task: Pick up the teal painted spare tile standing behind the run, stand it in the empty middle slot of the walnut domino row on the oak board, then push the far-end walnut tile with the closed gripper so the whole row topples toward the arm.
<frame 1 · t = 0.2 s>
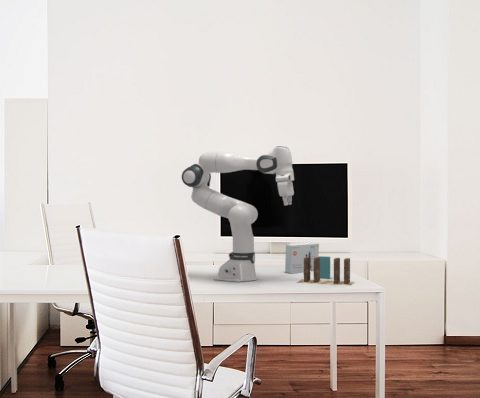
hand: (288, 205, 323), 39 cm above the table, tool pointing down, fingers open, 8 cm apart
tile 1: (347, 283, 312), point 1 cm above the table, touching oak board
oak board: (325, 283, 316), on the table
tile 2: (336, 282, 314), point 1 cm above the table, touching oak board
tile 5: (307, 281, 319), point 1 cm above the table, touching oak board
tile 4: (316, 281, 317), point 1 cm above the table, touching oak board
skincare box: (302, 272, 360), on the table
spare tile: (324, 279, 329), on the table
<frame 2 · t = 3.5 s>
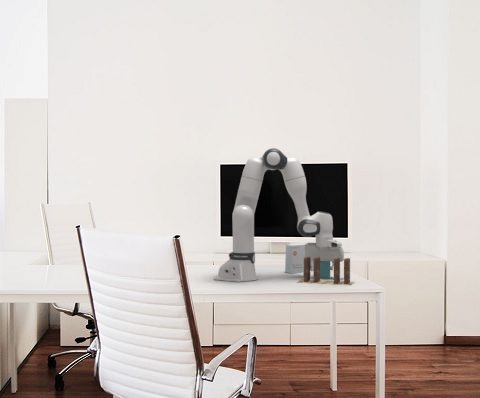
hand: (324, 269, 329), 5 cm above the table, tool pointing down, fingers closed on spare tile, 6 cm apart
spare tile: (324, 279, 329), on the table, touching gripper
everything else where it was.
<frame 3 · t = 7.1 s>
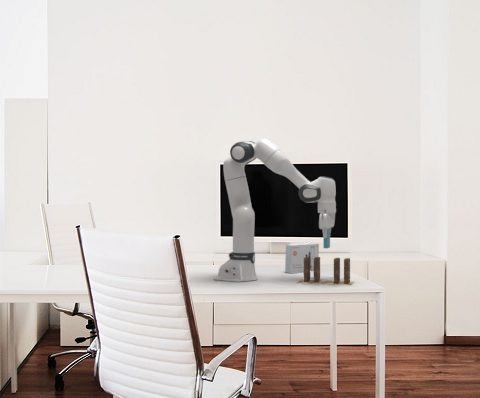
hand: (326, 237, 315), 23 cm above the table, tool pointing down, fingers closed on spare tile, 6 cm apart
spare tile: (326, 247, 315), point 18 cm above the table, touching gripper
everything else where it was.
when the fingers open (7 cm above the table, at t = 10.6 s): spare tile drops 1 cm, resting on oak board.
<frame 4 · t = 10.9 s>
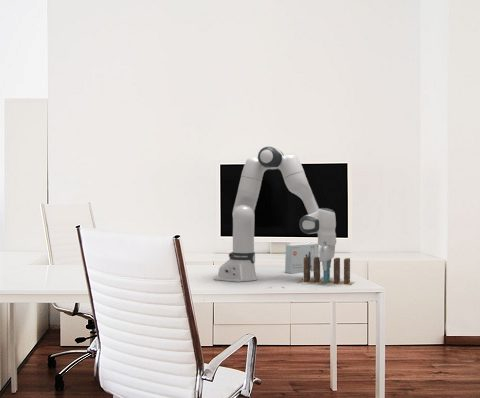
hand: (326, 268, 316), 7 cm above the table, tool pointing down, fingers open, 8 cm apart
spare tile: (326, 282, 316), point 1 cm above the table, touching oak board
everything else where it was.
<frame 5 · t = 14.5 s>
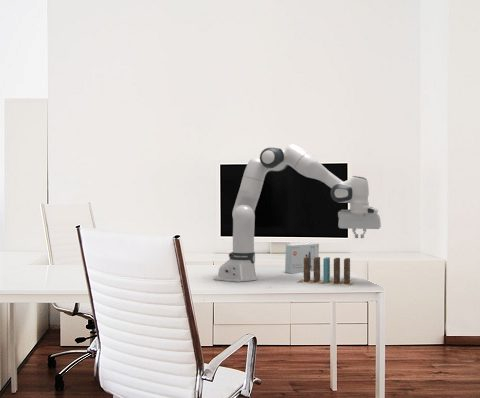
hand: (359, 238, 310), 23 cm above the table, tool pointing down, fingers closed
nothing on the table moved.
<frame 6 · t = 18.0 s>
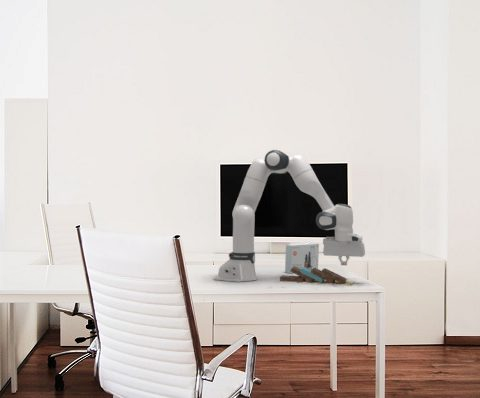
hand: (343, 265, 313), 10 cm above the table, tool pointing down, fingers closed
tile 1: (344, 281, 313), point 2 cm above the table, tilted 67°, touching oak board, tile 2
tile 2: (334, 280, 314), point 2 cm above the table, tilted 67°, touching oak board, spare tile, tile 1
tile 5: (304, 279, 319), point 2 cm above the table, tilted 90°, touching oak board, tile 4
tile 4: (313, 279, 318), point 2 cm above the table, tilted 66°, touching spare tile, tile 5
spare tile: (323, 280, 316), point 2 cm above the table, tilted 66°, touching oak board, tile 2, tile 4
everything else where it was.
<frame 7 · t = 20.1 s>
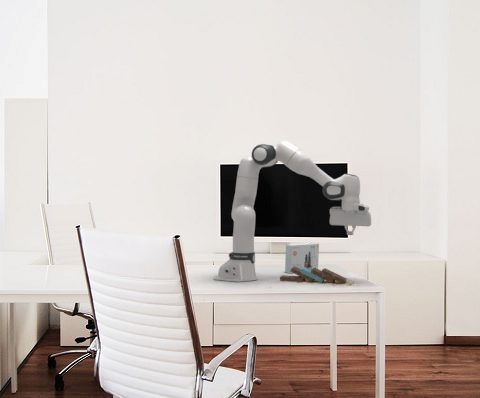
hand: (350, 235, 314), 24 cm above the table, tool pointing down, fingers closed
nothing on the table moved.
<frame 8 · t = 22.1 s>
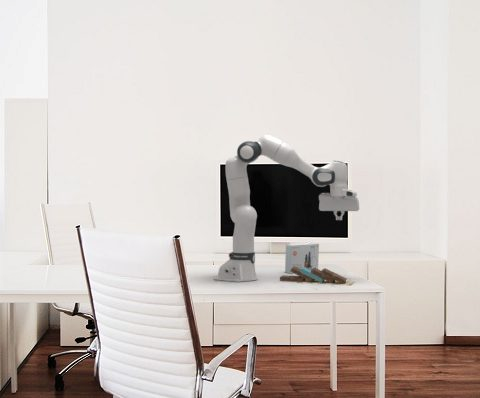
hand: (339, 220, 324), 31 cm above the table, tool pointing down, fingers closed
nothing on the table moved.
at the end: spare tile inside the target area (1.6 cm from its centre), point 1.7 cm above the table; spare tile tilted 66°; tile 5 tilted 90° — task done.
